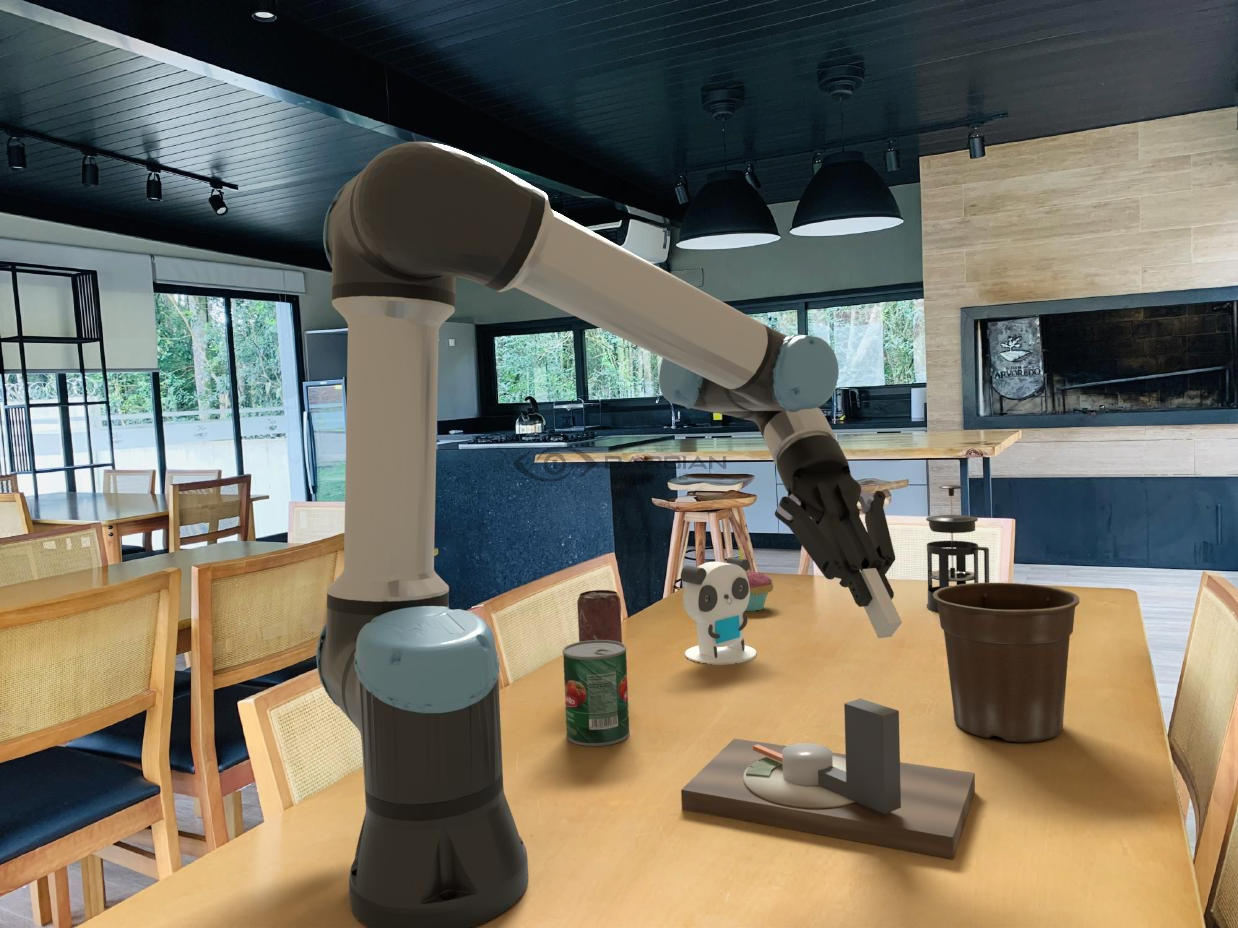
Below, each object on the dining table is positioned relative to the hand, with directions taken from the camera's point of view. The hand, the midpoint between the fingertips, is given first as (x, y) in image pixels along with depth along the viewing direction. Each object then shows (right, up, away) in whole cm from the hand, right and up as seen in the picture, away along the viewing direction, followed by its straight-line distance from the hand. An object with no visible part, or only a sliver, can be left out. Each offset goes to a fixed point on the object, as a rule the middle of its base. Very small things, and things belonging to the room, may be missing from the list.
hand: (890, 630), depth 91 cm
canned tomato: (-29, -17, +24) cm, 42 cm away
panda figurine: (-11, -14, +57) cm, 59 cm away
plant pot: (+20, -16, +21) cm, 33 cm away
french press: (+36, -11, +80) cm, 89 cm away
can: (-29, -16, +41) cm, 53 cm away
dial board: (-5, -18, +2) cm, 19 cm away
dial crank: (-7, -15, +2) cm, 17 cm away
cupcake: (-1, -12, +88) cm, 88 cm away
